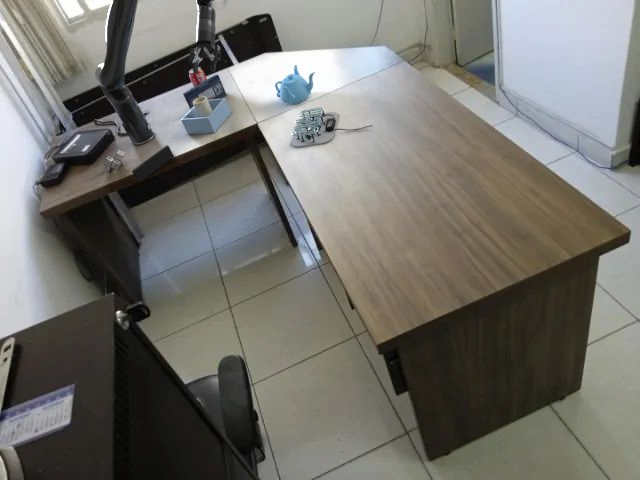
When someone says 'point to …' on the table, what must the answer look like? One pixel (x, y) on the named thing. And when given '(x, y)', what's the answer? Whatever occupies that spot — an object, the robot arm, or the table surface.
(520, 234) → the table surface
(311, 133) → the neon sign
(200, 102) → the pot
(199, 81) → the soda can
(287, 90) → the teapot
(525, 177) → the table surface
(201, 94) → the vhs cassette tape
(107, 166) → the building blocks
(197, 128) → the basin
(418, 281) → the table surface
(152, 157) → the dark grey slab
